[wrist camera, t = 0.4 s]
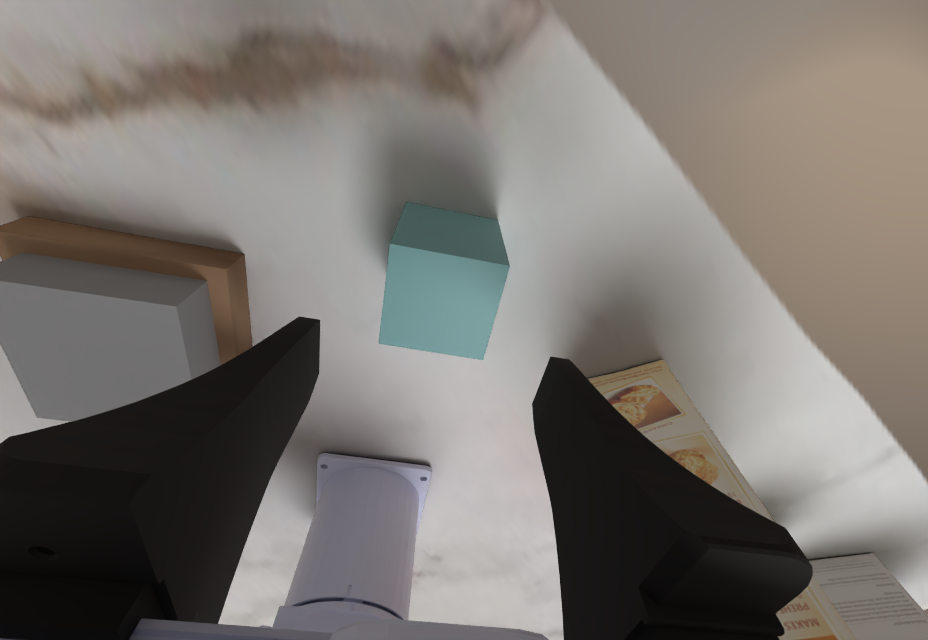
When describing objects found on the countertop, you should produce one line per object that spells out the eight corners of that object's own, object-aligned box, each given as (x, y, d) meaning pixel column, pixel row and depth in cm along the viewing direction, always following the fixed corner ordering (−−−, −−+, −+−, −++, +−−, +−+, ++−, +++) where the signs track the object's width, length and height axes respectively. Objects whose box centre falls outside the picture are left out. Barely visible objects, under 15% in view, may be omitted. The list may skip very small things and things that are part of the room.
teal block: (478, 298, 22) (482, 359, 18) (395, 284, 22) (378, 343, 17) (497, 219, 20) (509, 265, 15) (406, 201, 19) (389, 243, 15)
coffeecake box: (550, 386, 25) (720, 977, 9) (666, 354, 24) (1115, 971, 8) (593, 518, 33) (729, 975, 16) (683, 499, 32) (930, 971, 15)
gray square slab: (226, 403, 23) (203, 436, 21) (76, 384, 23) (36, 417, 20) (207, 280, 19) (176, 306, 17) (23, 252, 18) (-34, 276, 16)
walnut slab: (260, 391, 26) (243, 420, 24) (93, 368, 25) (60, 396, 23) (249, 249, 21) (226, 269, 19) (39, 212, 20) (-11, 229, 18)
